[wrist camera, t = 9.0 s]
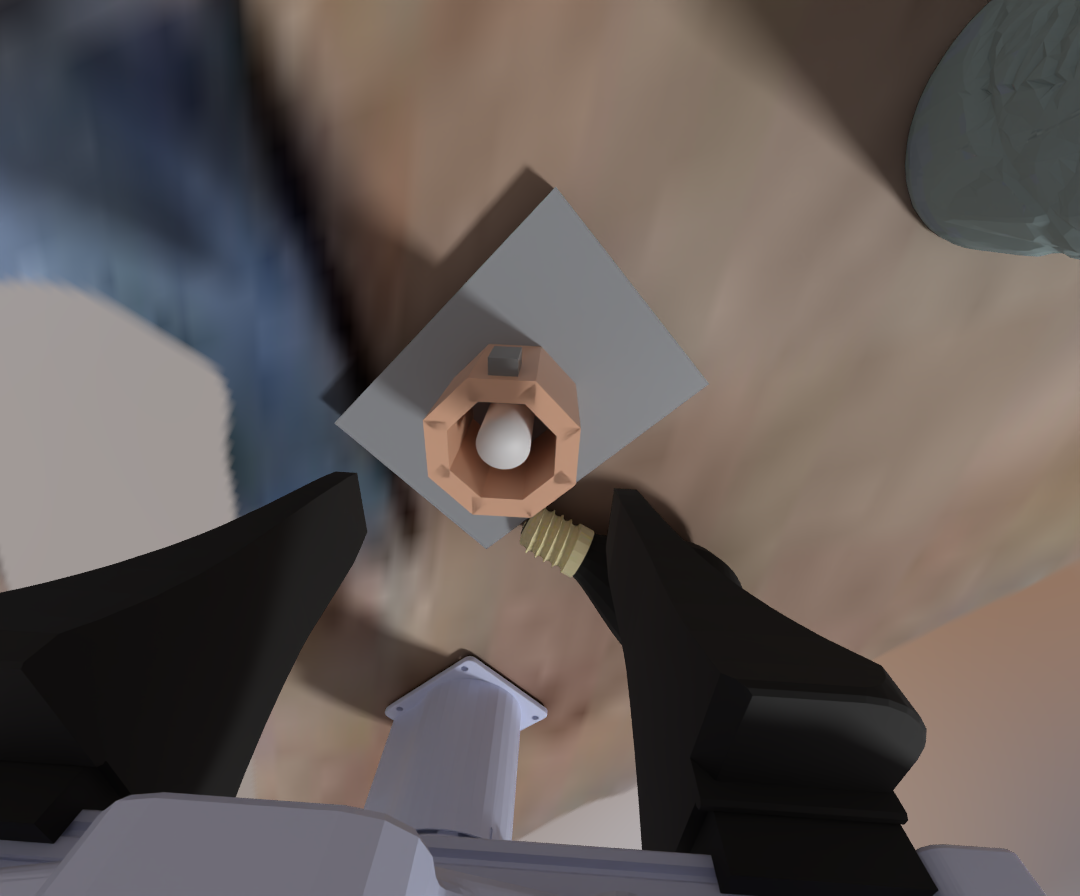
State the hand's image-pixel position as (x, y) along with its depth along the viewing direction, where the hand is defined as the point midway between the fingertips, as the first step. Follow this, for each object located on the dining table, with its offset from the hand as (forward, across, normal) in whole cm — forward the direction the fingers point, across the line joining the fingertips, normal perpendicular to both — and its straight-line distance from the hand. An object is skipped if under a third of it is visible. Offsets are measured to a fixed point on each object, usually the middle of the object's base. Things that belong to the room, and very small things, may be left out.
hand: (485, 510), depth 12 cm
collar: (+8, 0, 0) cm, 8 cm away
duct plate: (+9, 0, 0) cm, 9 cm away
